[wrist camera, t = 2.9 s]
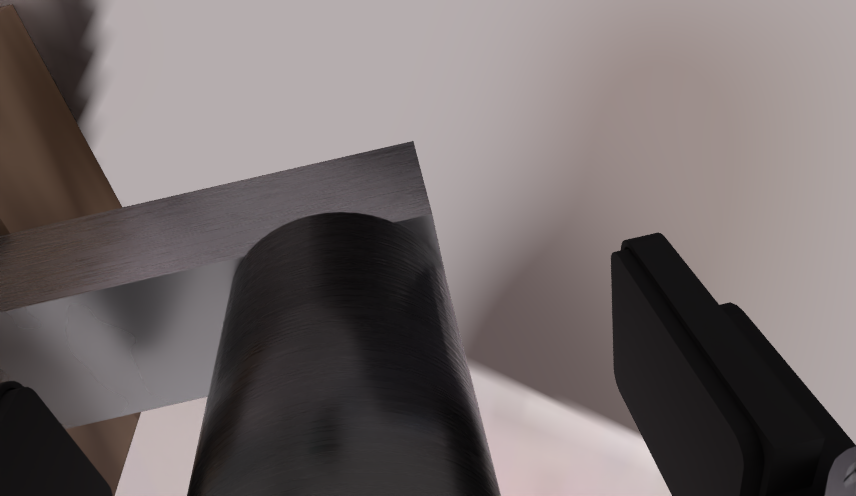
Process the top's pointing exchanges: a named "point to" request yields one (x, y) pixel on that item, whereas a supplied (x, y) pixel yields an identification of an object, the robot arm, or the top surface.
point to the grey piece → (261, 330)
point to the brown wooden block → (51, 190)
